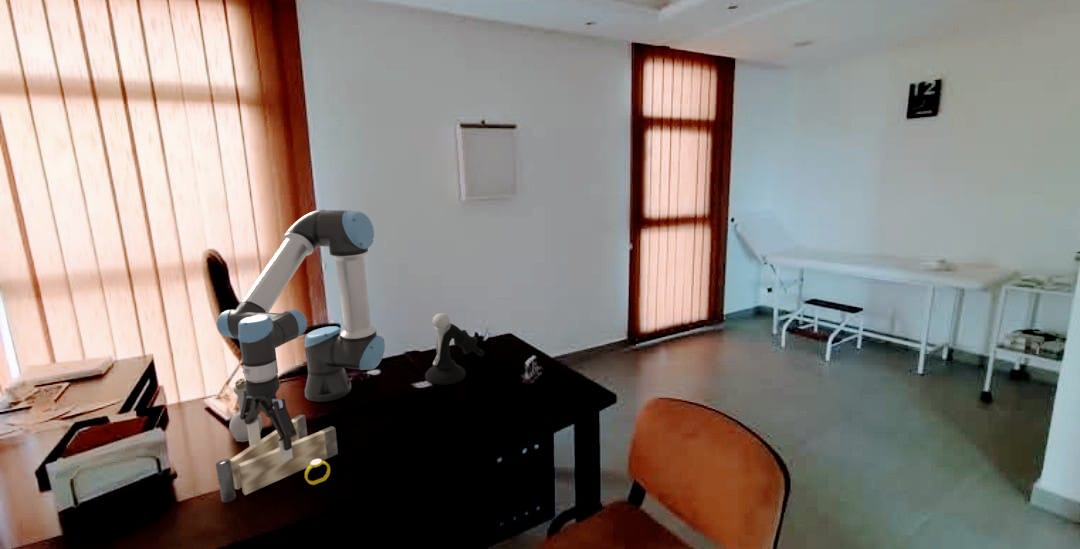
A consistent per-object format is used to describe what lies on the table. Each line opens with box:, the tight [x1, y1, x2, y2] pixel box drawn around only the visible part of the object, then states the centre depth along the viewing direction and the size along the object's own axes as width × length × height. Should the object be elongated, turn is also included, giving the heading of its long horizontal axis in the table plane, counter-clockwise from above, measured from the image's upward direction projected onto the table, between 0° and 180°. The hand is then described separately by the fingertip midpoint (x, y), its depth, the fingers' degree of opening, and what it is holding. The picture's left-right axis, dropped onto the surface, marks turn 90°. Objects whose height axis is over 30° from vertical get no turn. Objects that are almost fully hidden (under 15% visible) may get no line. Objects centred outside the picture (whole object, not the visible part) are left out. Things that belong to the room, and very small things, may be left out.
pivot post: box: [215, 458, 237, 504], centre depth 124 cm, size 3×3×10 cm
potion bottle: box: [228, 377, 264, 443], centre depth 151 cm, size 9×9×18 cm
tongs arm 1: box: [229, 413, 308, 490], centre depth 139 cm, size 24×2×8 cm, turn 162°
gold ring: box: [304, 459, 331, 486], centre depth 131 cm, size 6×3×6 cm, turn 129°
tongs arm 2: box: [238, 425, 339, 496], centre depth 135 cm, size 24×2×8 cm, turn 138°
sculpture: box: [424, 312, 486, 386], centre depth 193 cm, size 15×24×25 cm, turn 120°
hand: (270, 452), depth 134 cm, fingers open, 13 cm apart
